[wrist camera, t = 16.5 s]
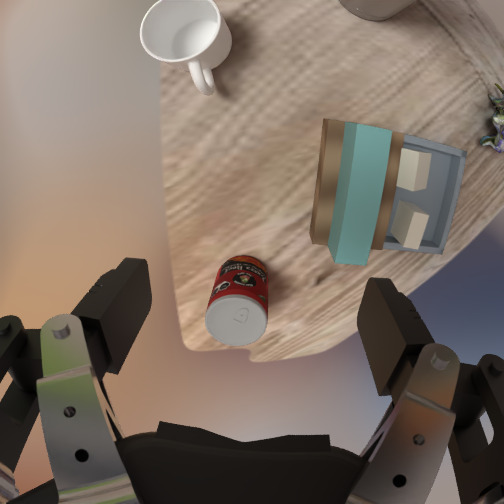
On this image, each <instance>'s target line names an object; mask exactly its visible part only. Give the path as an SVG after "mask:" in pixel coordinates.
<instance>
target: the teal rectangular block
mask: <svg viewBox="0 0 504 504" xmlns="http://www.w3.org/2000/svg"><path fill="white" fill-rule="evenodd" d="M391 136H392V130H387V129H382V128H378V127H373V126H368V125H362V124H357V123H351V122H345V129H344V138H343V147H342V155H341V163H340V170H339V177H338V185H337V191H336V198H335V204H334V211H333V217H332V223H331V229H330V234H329V240H328V247H329V250H330V252H331V255H332V257H333V260H334V262H335V263H339V264H353V265H366V264H367V260H368V256H369V252H370V248H371V244H372V240H373V236H374V231H375V227H376V222H377V218H378V213H379V208H380V203H381V198H382V193H383V187H384V182H385V176H386V170H387V164H388V157H389V150H390V143H391Z"/></svg>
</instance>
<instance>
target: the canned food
mask: <svg viewBox="0 0 504 504" xmlns="http://www.w3.org/2000/svg"><path fill="white" fill-rule="evenodd" d="M267 319H268V275H267V272H266V270H265V268H264V267H263V265H262V264H261V263H260V262H259V261H258V260H256V259H254V258H252V257H249V256H236V257H233V258H231V259H229V260H227V261H226V262H225V263H224V264H223V265H222V266H221V267H220V269H219V271H218V273H217V277H216V280H215V283H214V287H213V290H212V293H211V297H210V300H209V303H208V307H207V311H206V316H205V325H206V328H207V330H208V332H209V333H210V334H211V335H212V337H214V338H215V339H216V340H218V341H219V342H221V343H224V344H227V345H232V346H243V345H248V344H251V343H253V342H255V341H256V340H258V339H259V338H260V337H261V336H262V335H263V334H264V332H265V330H266V327H267Z"/></svg>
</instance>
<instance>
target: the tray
mask: <svg viewBox="0 0 504 504" xmlns="http://www.w3.org/2000/svg"><path fill="white" fill-rule="evenodd" d="M403 148H409V149H417V150H421V151H425V152H428V153H432V154H431V162H430V168H429V174H428V180H427V186H426V189H422V190H418V191H410V190H407V189H404V188H401V187H398V186H396V191H395V196H394V201H393V206H392V211H391V215H390V220H389V224H388V228H387V233H386V237H385V241H384V245H383V249H392V250H402V251H413V252H423V253H433V254H442V253H443V250H444V247H445V244H446V241H447V237H448V234H449V230H450V227H451V223H452V220H453V216H454V212H455V208H456V204H457V200H458V196H459V191H460V187H461V182H462V177H463V172H464V166H465V161H466V155H467V152H466V151H463V150H460V149H457V148H454V147H450V146H447V145H444V144H440V143H437V142H433V141H430V140H426V139H422V138H418V137H415V136H411V135H406V134H405V136H404V143H403ZM399 200H402V201H406V202H410V203H414V204H415V205H416V206H418V207H419V208H420V209H422V210H423V211H424V212H426V213H427V214H428V215H429V218H428V221H427V224H426V227H425V230H424V234H423V237H422V239H421V242H420V245H419V248H418V250H417V249H412V248H406V247H403V246H402V245H401V244H400V243H399V242H398V240H397V239H396V238H395V237H394V236H393V235H392V233H391V228H392V225H393V221H394V218H395V215H396V211H397V207H398V204H399Z"/></svg>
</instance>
